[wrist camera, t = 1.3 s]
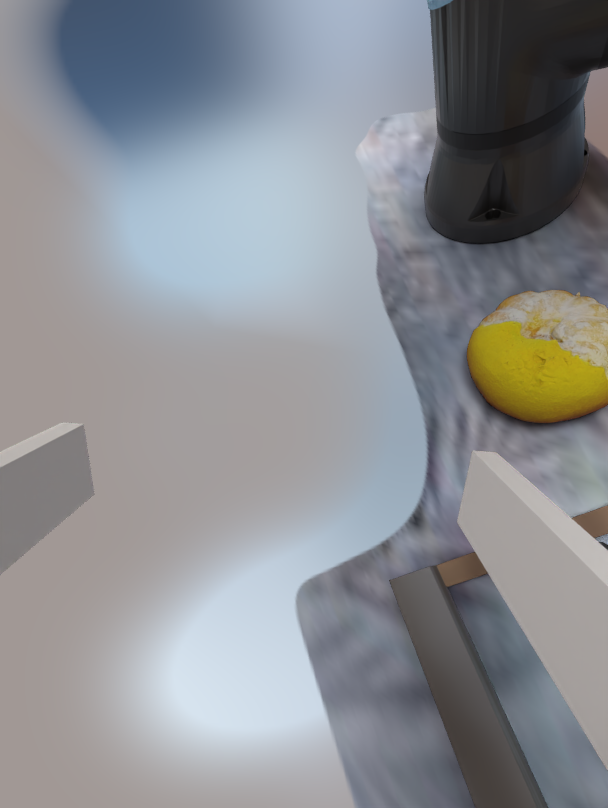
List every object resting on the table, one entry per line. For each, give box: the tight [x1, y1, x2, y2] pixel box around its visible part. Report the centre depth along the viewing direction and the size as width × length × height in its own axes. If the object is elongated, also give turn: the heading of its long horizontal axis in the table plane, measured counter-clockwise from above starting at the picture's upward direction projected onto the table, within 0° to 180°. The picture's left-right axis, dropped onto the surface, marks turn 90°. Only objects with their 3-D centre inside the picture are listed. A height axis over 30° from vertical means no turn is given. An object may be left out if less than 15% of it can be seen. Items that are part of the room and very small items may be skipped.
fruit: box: [467, 290, 608, 423], centre depth 27 cm, size 11×10×8 cm
